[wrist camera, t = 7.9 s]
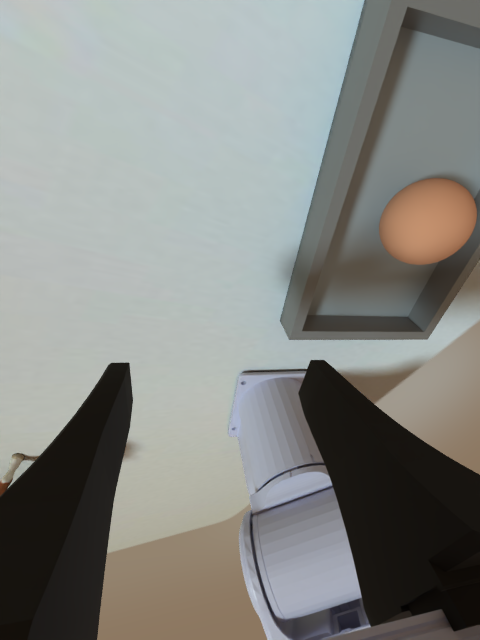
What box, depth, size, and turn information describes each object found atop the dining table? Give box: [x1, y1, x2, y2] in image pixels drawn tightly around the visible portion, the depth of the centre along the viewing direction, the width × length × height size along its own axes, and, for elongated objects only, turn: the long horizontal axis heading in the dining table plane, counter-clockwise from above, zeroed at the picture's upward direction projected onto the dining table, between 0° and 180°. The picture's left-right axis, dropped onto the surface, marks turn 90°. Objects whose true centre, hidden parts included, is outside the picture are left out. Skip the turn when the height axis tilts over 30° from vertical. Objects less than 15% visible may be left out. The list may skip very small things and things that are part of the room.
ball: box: [379, 178, 477, 265], centre depth 18 cm, size 5×5×5 cm
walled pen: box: [280, 0, 480, 340], centre depth 19 cm, size 19×13×2 cm
